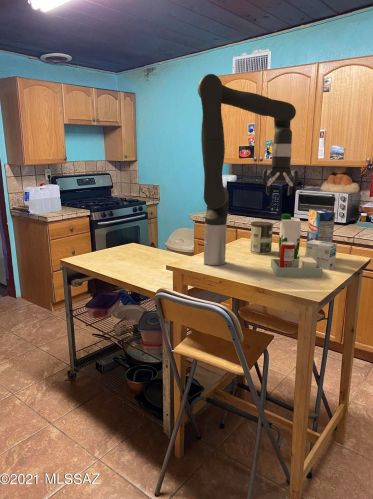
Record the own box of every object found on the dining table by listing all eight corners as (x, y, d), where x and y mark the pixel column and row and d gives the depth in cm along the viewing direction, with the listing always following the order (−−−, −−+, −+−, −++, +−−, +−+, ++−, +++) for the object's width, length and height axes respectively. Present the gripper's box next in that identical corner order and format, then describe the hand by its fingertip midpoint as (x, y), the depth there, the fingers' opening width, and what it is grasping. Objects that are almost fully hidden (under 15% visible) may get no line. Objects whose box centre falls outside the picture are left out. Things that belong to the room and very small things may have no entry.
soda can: (283, 268, 158) (285, 240, 155) (295, 271, 154) (298, 242, 151) (276, 271, 155) (278, 242, 152) (288, 274, 151) (290, 244, 148)
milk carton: (277, 254, 182) (280, 212, 177) (297, 255, 180) (301, 213, 175) (278, 259, 173) (281, 215, 169) (299, 261, 172) (302, 216, 167)
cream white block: (302, 274, 151) (303, 262, 150) (298, 269, 158) (299, 257, 156) (315, 274, 151) (317, 262, 150) (310, 269, 158) (311, 257, 156)
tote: (276, 277, 148) (277, 268, 148) (270, 268, 161) (271, 258, 160) (321, 278, 148) (322, 268, 147) (311, 268, 161) (312, 259, 160)
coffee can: (272, 250, 190) (274, 222, 186) (270, 255, 180) (272, 225, 177) (251, 248, 193) (252, 220, 190) (248, 253, 184) (249, 224, 180)
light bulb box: (335, 268, 162) (337, 243, 159) (328, 271, 157) (331, 245, 154) (310, 263, 169) (312, 239, 166) (303, 266, 164) (306, 241, 161)
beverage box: (315, 262, 170) (320, 212, 164) (305, 255, 180) (309, 209, 175) (330, 262, 171) (335, 212, 165) (319, 255, 181) (323, 208, 176)
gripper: (265, 155, 155) (262, 195, 159) (301, 155, 154) (297, 196, 159) (262, 155, 162) (260, 193, 166) (297, 155, 162) (293, 194, 166)
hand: (278, 195), depth 162 cm, fingers open, 8 cm apart
